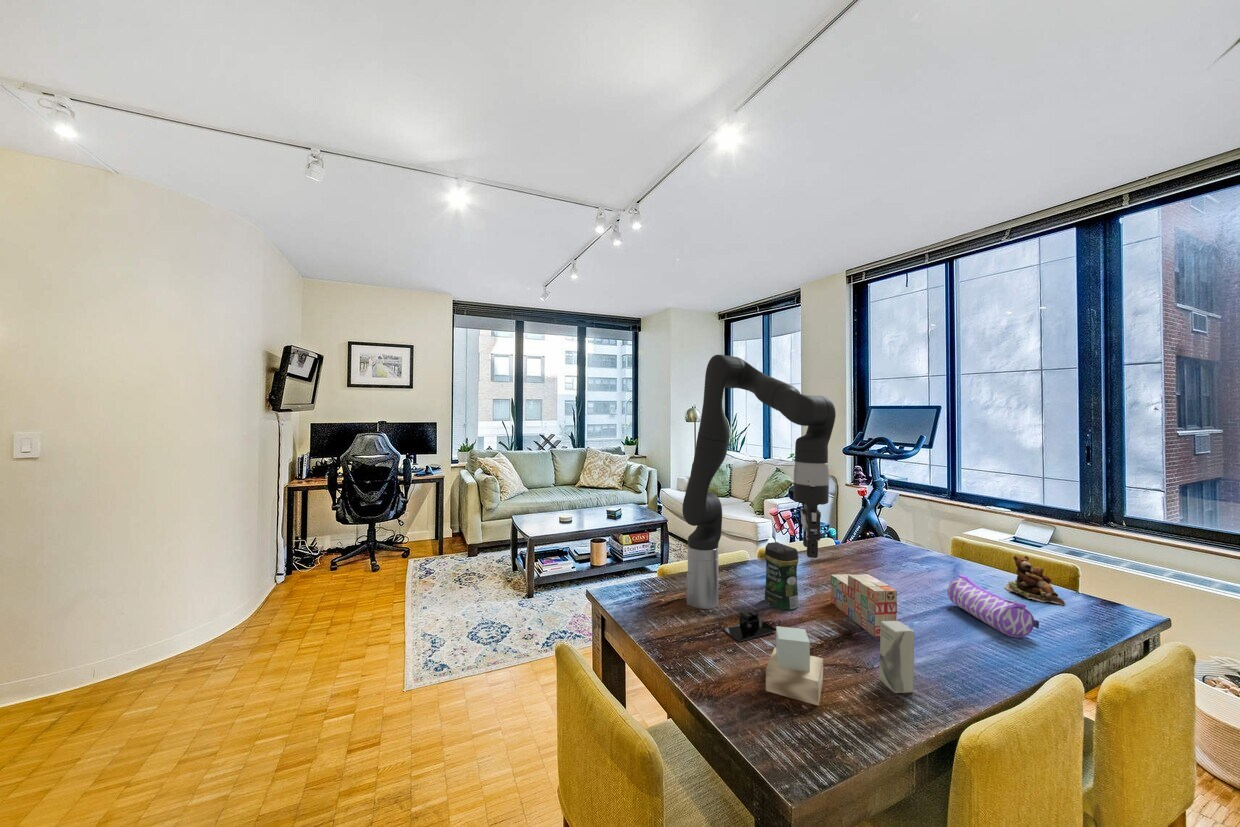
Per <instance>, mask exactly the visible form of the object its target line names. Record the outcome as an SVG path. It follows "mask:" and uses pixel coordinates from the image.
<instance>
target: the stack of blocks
mask: <svg viewBox="0 0 1240 827" xmlns="http://www.w3.org/2000/svg"><path fill="white" fill-rule="evenodd" d="M830 584H831V586H830V587H831V588H830V589H831V590H830V591H831V592H830V594H831V604H833V605H834V606H835V607H836V608H838V609H839V610H840V611H841V612H842V613H844V614H845V615H846V616H848V617H849V618H850V619H851V620H852V621H854V622H855V623H856V624H858V625H859V626H860V627H862V628H863V630H864V631H866V632H867V633H868V634H870V635H871V636H873V637H874V638H880V635H881V621H898V619H897V616H898V615H897V613H898V602H897V601H898V599H897V598H898V597H897V596H898V591H897V589H894V588H893V587H891V586H890V585H889V584H887V583H885V582H883V581H881V580H879V579H877V578H876V577H874V576H872V575H870V574H866V573H865V574H848V573H843V574H831V575H830Z"/></svg>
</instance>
